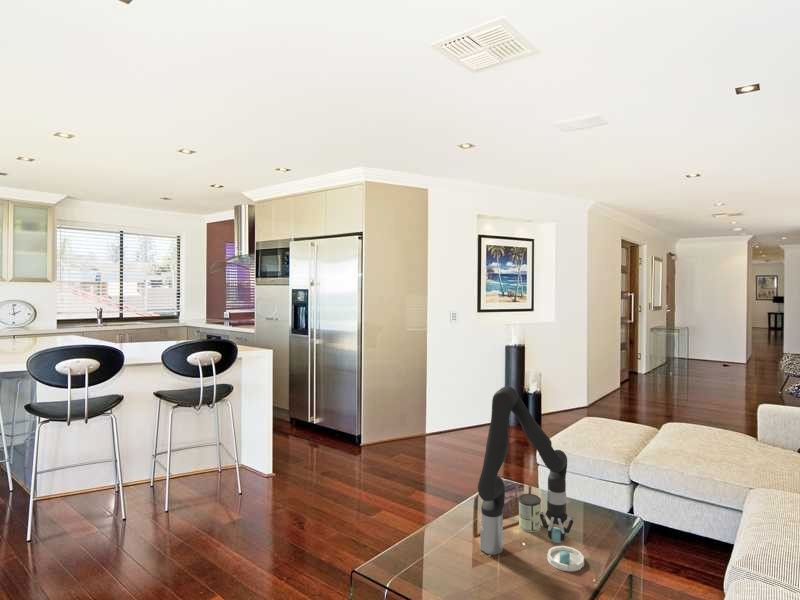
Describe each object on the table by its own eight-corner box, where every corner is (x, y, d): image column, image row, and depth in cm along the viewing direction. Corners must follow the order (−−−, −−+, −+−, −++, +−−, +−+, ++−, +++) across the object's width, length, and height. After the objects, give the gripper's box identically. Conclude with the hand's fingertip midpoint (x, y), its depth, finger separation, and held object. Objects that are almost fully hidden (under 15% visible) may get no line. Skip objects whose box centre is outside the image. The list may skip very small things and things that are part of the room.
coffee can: (522, 519, 257) (522, 491, 255) (543, 524, 251) (543, 496, 250) (515, 528, 248) (515, 500, 247) (536, 534, 242) (536, 505, 241)
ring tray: (544, 566, 218) (544, 561, 218) (550, 547, 232) (550, 542, 232) (582, 574, 212) (582, 569, 212) (585, 554, 226) (585, 549, 225)
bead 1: (550, 541, 214) (550, 531, 213) (552, 536, 217) (552, 526, 217) (560, 543, 212) (560, 533, 211) (562, 538, 215) (562, 528, 215)
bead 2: (559, 565, 217) (559, 555, 217) (560, 560, 221) (560, 550, 221) (569, 567, 216) (569, 557, 215) (570, 562, 219) (570, 552, 219)
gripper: (537, 500, 213) (537, 540, 214) (573, 507, 206) (573, 548, 208) (540, 492, 219) (540, 531, 221) (576, 498, 213) (575, 538, 215)
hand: (556, 539), depth 215 cm, fingers closed on bead 1, 4 cm apart
